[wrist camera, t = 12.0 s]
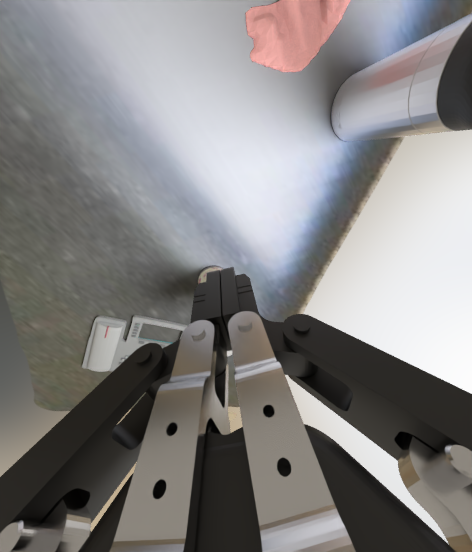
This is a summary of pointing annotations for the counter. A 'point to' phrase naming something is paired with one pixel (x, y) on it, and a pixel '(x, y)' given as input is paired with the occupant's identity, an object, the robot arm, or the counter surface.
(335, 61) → the counter surface
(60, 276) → the counter surface
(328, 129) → the counter surface
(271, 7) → the cloth
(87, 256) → the counter surface
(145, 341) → the office telephone
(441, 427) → the robot arm
